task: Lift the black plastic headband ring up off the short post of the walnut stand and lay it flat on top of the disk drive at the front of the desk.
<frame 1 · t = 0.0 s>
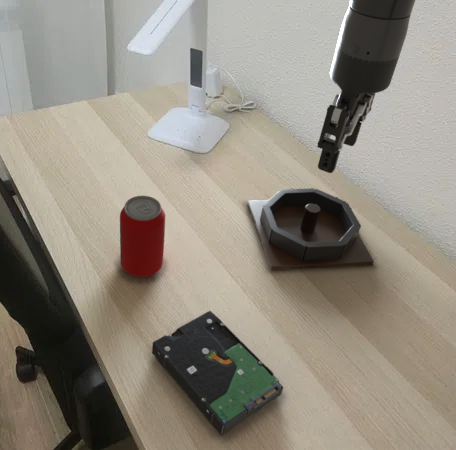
hand: (336, 156, 78), 19 cm above the table, tool pointing down, fingers open, 8 cm apart
stand: (306, 232, 95), on the table
disk drive: (214, 375, 73), on the table
headband ring: (307, 229, 95), point 1 cm above the table, touching stand
beverage can: (141, 266, 88), on the table
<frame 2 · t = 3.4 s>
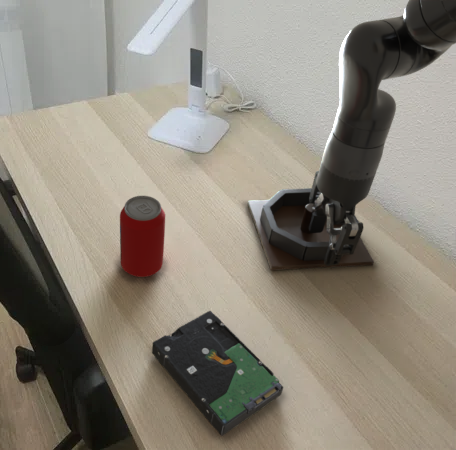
hand: (322, 247, 88), 3 cm above the table, tool pointing down, fingers open, 7 cm apart
nothing on the table moved.
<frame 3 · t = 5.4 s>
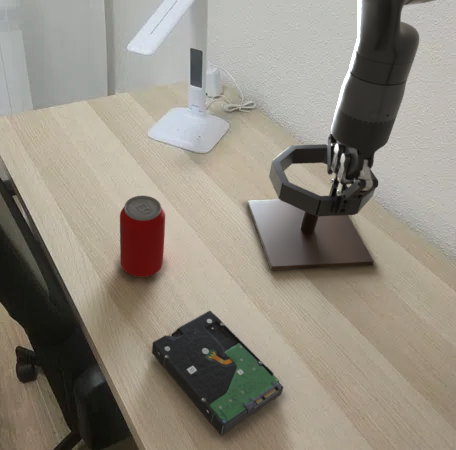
hand: (335, 209, 83), 11 cm above the table, tool pointing down, fingers closed on headband ring
headband ring: (319, 185, 88), point 10 cm above the table, touching gripper
everything else where it was.
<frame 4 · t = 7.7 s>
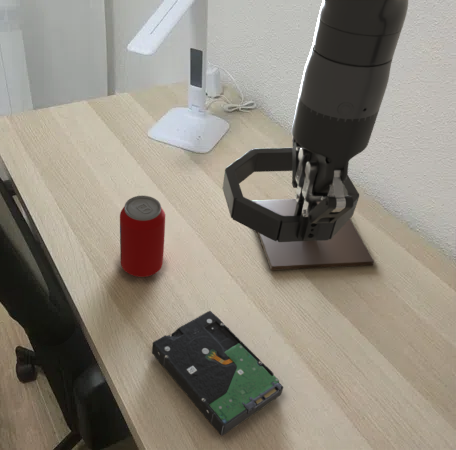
hand: (303, 233, 63), 21 cm above the table, tool pointing down, fingers closed on headband ring
headband ring: (286, 200, 69), point 20 cm above the table, touching gripper
everything else where it was.
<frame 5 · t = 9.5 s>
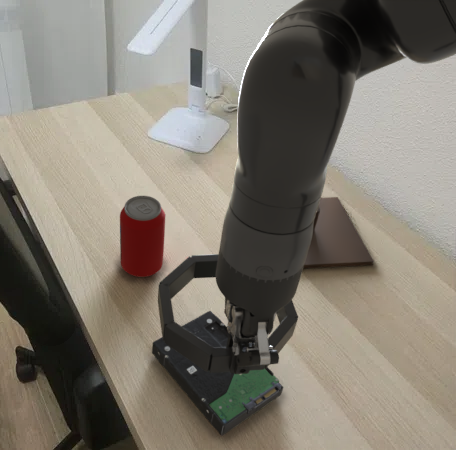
hand: (237, 362, 60), 12 cm above the table, tool pointing down, fingers closed on headband ring
headband ring: (223, 316, 65), point 12 cm above the table, touching gripper
everything else where it was.
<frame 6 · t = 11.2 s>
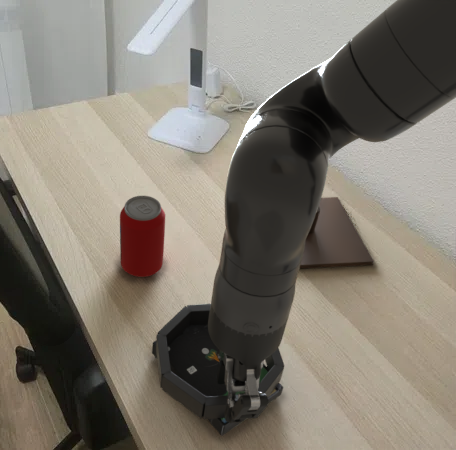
hand: (229, 398, 64), 5 cm above the table, tool pointing down, fingers open, 4 cm apart
disk drive: (214, 375, 73), on the table, touching headband ring
headband ring: (216, 363, 71), point 3 cm above the table, touching disk drive
everything else where it was.
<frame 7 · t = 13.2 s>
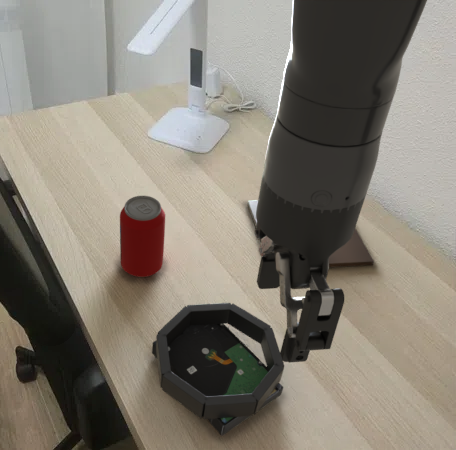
hand: (279, 319, 51), 23 cm above the table, tool pointing down, fingers open, 8 cm apart
nothing on the table moved.
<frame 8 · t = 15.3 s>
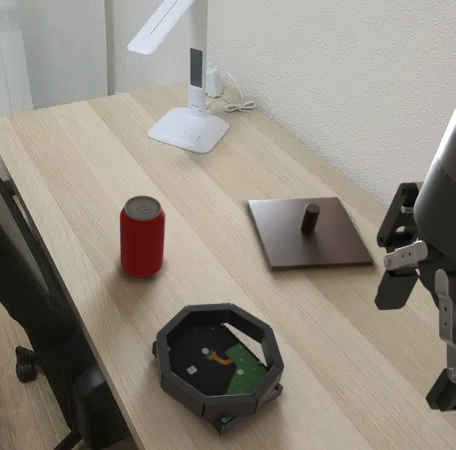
hand: (412, 351, 40), 30 cm above the table, tool pointing down, fingers open, 8 cm apart
nothing on the table moved.
at the end: headband ring inside the target area on the disk drive (0.2 cm from its centre), point 2.9 cm above the disk drive's base; the gripper is holding nothing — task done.
